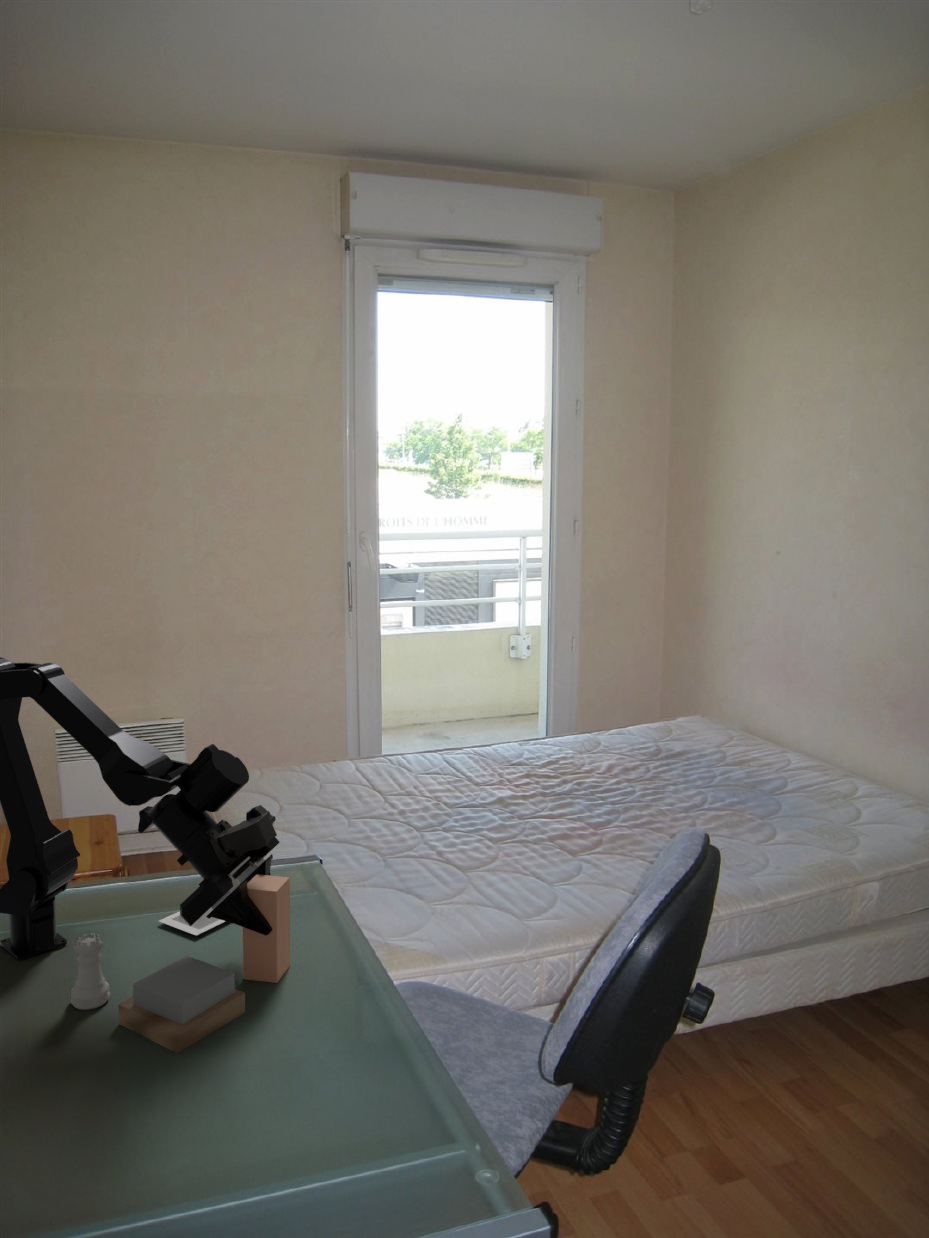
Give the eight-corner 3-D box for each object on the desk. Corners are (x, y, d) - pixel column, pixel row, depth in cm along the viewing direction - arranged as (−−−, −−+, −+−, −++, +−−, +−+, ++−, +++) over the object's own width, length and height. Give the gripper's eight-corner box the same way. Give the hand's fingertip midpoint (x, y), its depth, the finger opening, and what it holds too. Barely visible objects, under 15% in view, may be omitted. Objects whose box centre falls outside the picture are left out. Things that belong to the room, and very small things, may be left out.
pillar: (243, 978, 117) (242, 888, 116) (257, 961, 122) (256, 874, 120) (277, 982, 117) (276, 891, 115) (290, 965, 121) (289, 877, 120)
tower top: (133, 1004, 107) (132, 984, 106) (186, 974, 113) (186, 955, 113) (182, 1024, 103) (182, 1003, 102) (235, 992, 109) (234, 972, 109)
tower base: (119, 1028, 107) (118, 1003, 107) (188, 991, 115) (187, 968, 115) (177, 1057, 102) (176, 1031, 101) (245, 1016, 110) (245, 992, 110)
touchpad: (158, 928, 132) (157, 913, 132) (236, 892, 144) (236, 878, 144) (196, 942, 128) (196, 927, 127) (273, 904, 140) (273, 890, 140)
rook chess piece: (96, 1013, 109) (94, 948, 108) (62, 1008, 110) (60, 944, 109) (117, 994, 113) (116, 931, 112) (84, 989, 114) (82, 927, 113)
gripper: (202, 818, 108) (293, 917, 107) (264, 772, 126) (342, 857, 126) (141, 876, 110) (230, 974, 110) (211, 824, 128) (287, 907, 128)
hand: (277, 924), depth 118 cm, fingers closed on pillar, 4 cm apart
